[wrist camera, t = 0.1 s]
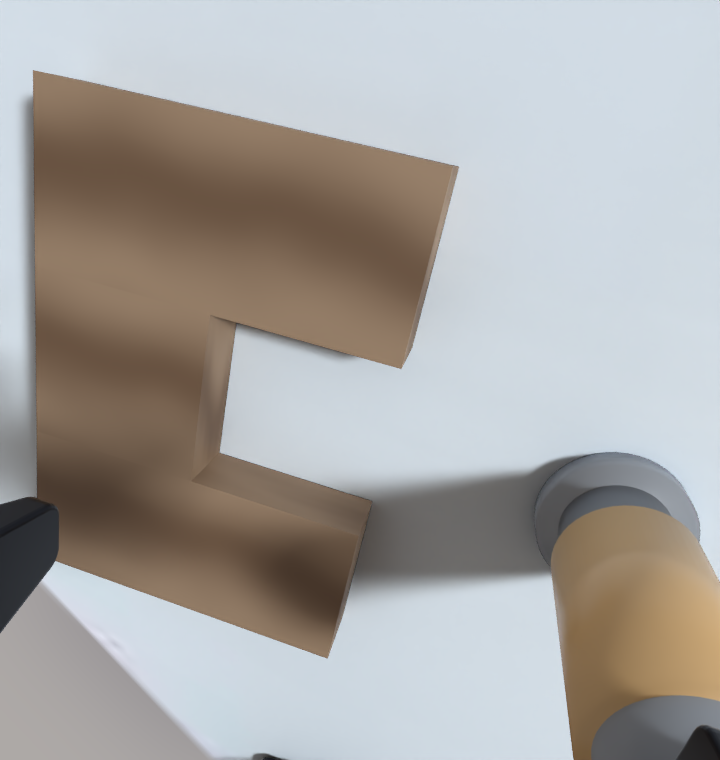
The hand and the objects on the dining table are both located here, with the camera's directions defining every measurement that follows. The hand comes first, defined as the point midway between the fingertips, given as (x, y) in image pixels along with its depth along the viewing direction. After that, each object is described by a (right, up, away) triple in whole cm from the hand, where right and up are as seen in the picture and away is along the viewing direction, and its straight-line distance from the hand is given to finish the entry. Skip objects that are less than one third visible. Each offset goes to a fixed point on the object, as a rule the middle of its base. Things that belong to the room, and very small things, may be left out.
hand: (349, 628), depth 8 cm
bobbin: (+10, -2, +14) cm, 17 cm away
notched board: (-5, +3, +16) cm, 17 cm away
